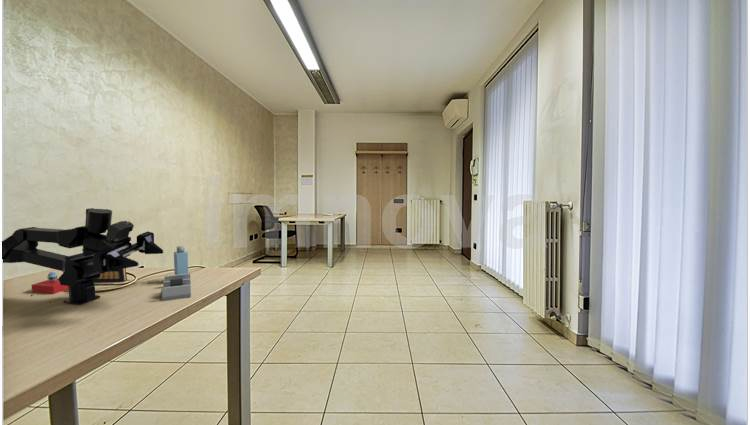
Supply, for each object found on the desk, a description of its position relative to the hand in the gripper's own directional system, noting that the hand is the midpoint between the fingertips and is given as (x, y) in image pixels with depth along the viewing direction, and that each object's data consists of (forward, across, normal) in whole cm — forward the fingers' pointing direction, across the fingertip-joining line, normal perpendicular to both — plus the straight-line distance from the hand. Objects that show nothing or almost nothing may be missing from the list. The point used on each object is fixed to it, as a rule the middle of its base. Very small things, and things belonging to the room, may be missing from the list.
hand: (150, 257), depth 101 cm
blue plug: (-6, +20, +21) cm, 30 cm away
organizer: (0, +10, +18) cm, 21 cm away
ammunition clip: (-29, +13, +24) cm, 40 cm away
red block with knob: (-39, +2, +24) cm, 46 cm away
